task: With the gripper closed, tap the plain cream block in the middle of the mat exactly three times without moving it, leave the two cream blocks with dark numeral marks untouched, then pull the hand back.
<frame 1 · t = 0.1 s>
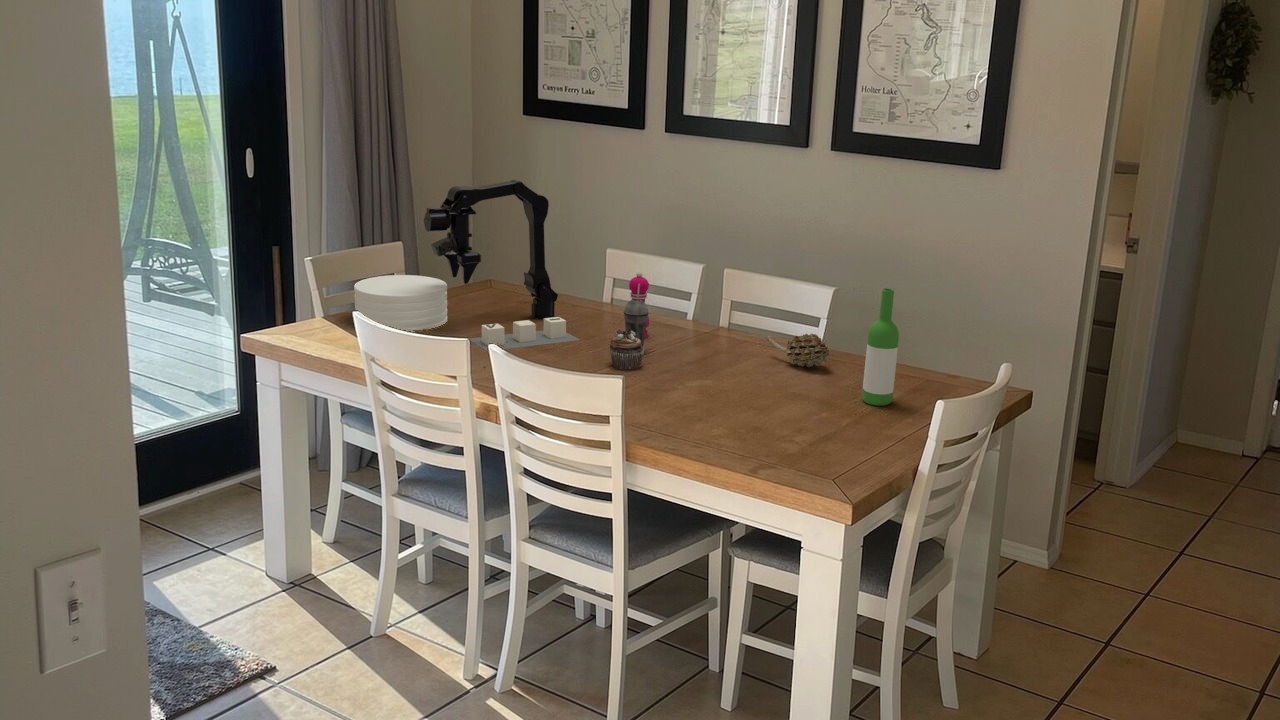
hand: (460, 280, 350), 15 cm above the table, tool pointing down, fingers open, 9 cm apart
block one: (554, 335, 346), point 1 cm above the table, touching mat
wine bottle: (876, 402, 300), on the table
pepper mill: (636, 336, 352), on the table
plate stack: (401, 321, 359), on the table
beverage cup: (634, 352, 336), on the table
mat: (524, 341, 342), on the table
cupcake: (626, 366, 323), on the table
block seven: (493, 342, 336), point 1 cm above the table, touching mat
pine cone: (794, 364, 330), on the table
plain block: (524, 339, 341), point 1 cm above the table, touching mat
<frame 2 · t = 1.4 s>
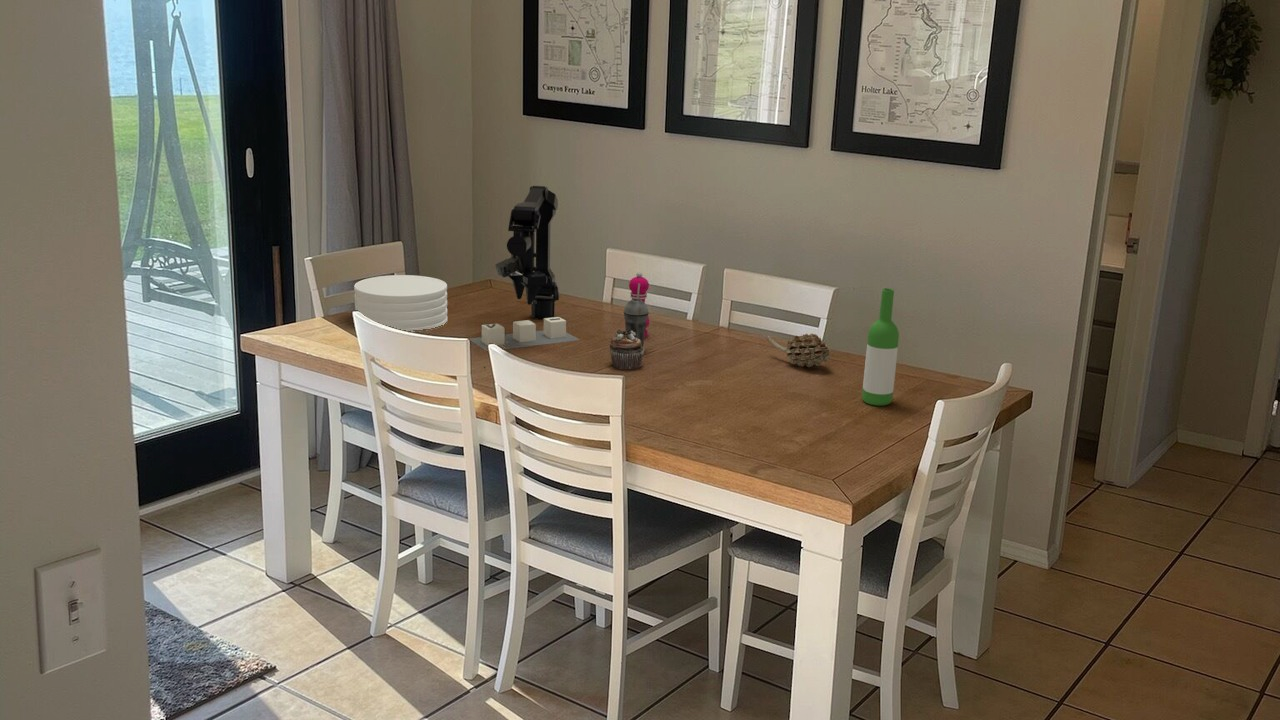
hand: (524, 301, 338), 12 cm above the table, tool pointing down, fingers open, 7 cm apart
nothing on the table moved.
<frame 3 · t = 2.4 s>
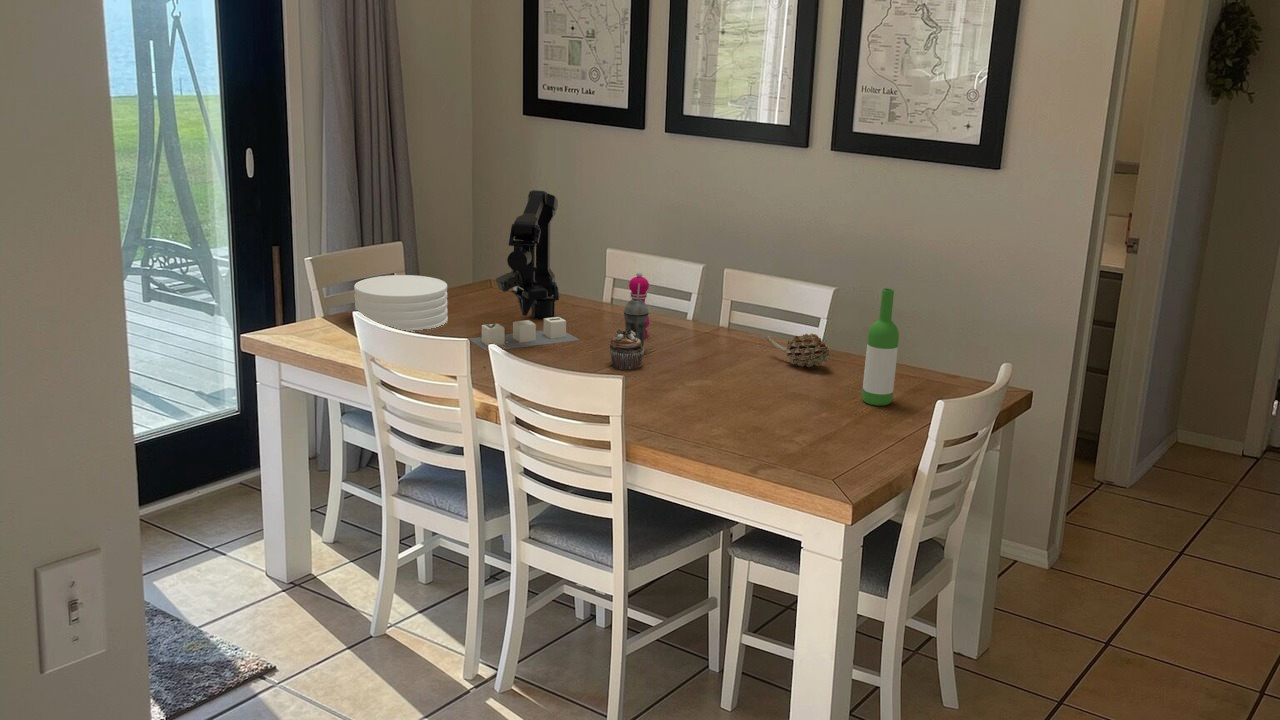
hand: (524, 315, 339), 8 cm above the table, tool pointing down, fingers closed
nothing on the table moved.
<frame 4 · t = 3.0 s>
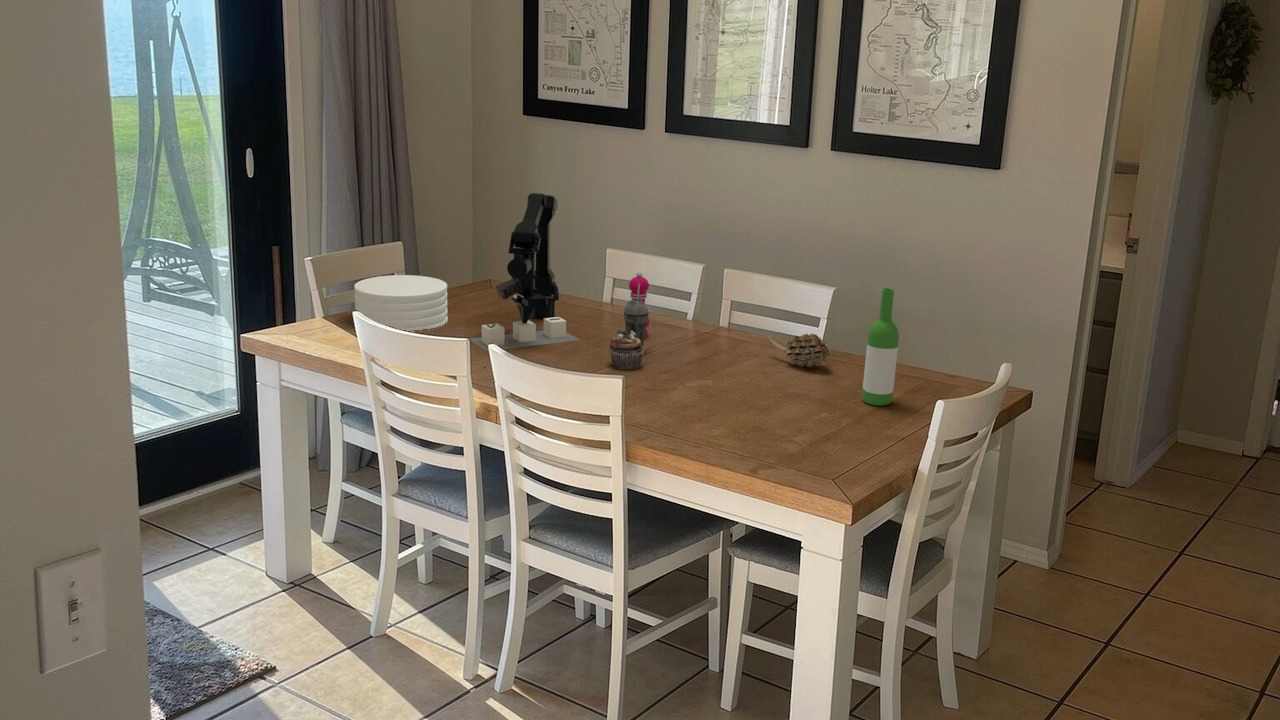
hand: (524, 323, 340), 6 cm above the table, tool pointing down, fingers closed, pressing on plain block
plain block: (524, 339, 341), point 1 cm above the table, touching gripper, mat
everything else where it was.
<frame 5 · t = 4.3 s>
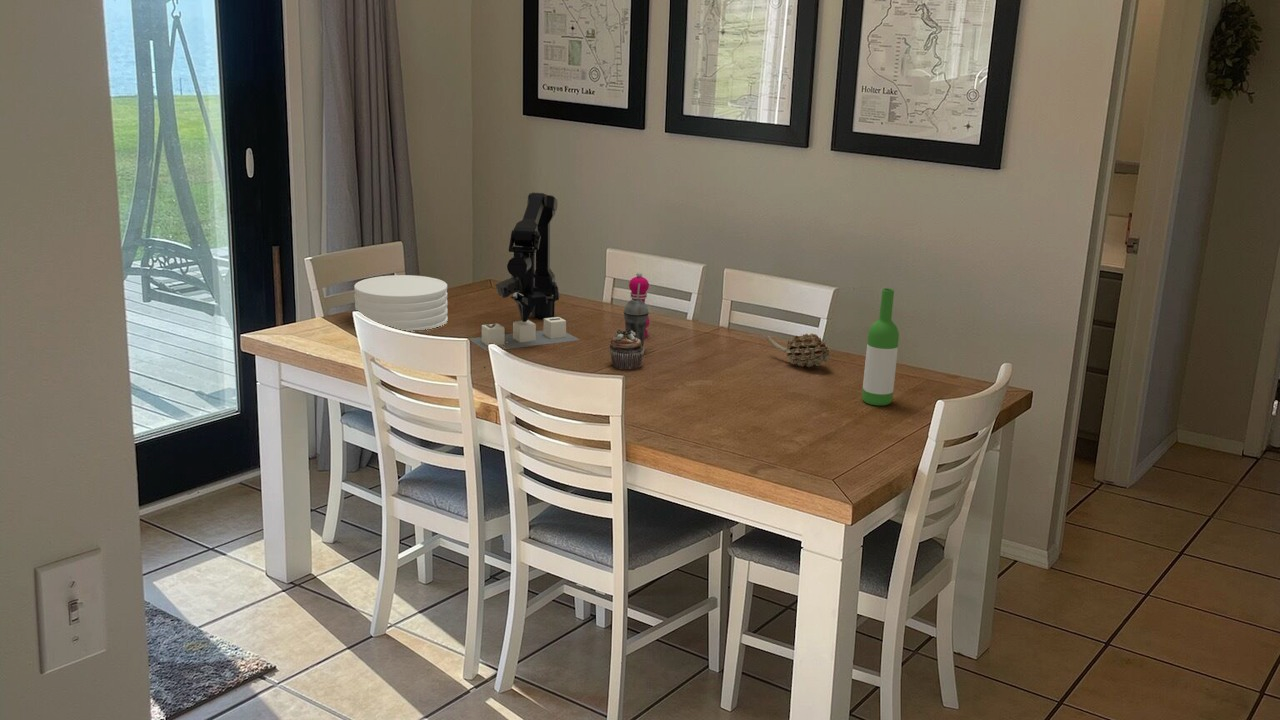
hand: (524, 321, 340), 6 cm above the table, tool pointing down, fingers closed
plain block: (524, 339, 341), point 1 cm above the table, touching mat
everything else where it was.
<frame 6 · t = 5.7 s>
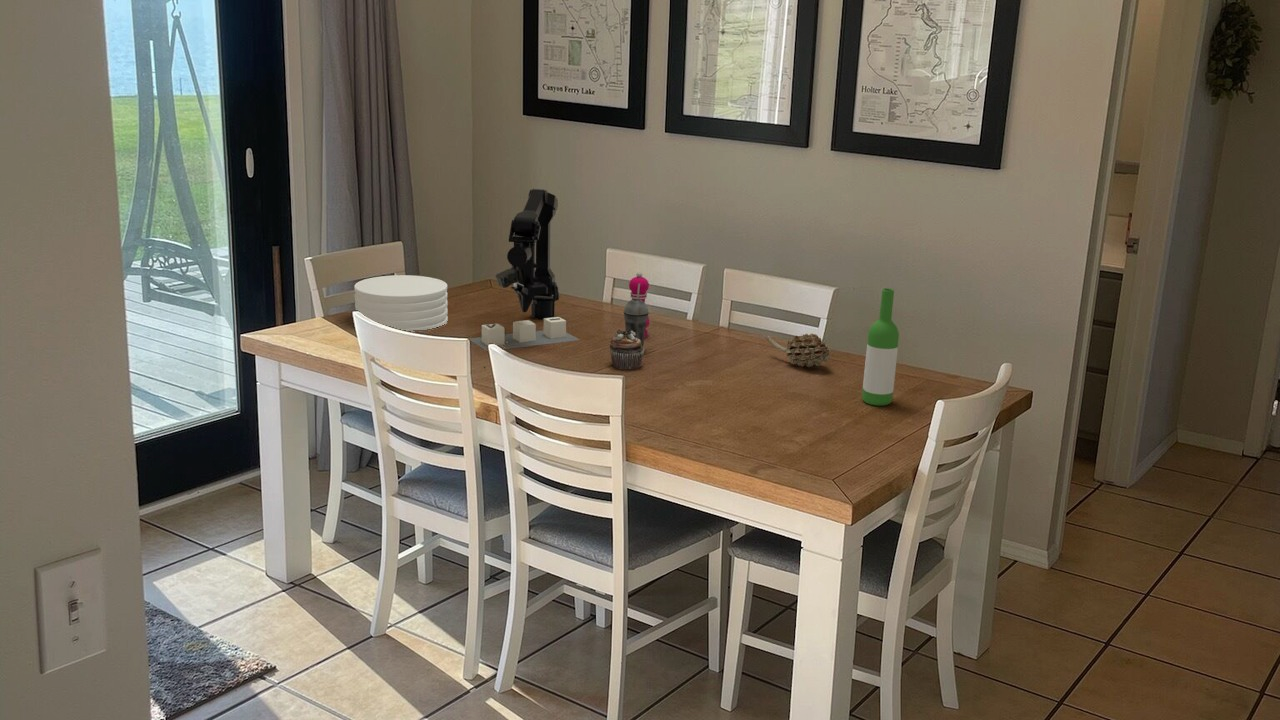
hand: (524, 311, 339), 9 cm above the table, tool pointing down, fingers closed
nothing on the table moved.
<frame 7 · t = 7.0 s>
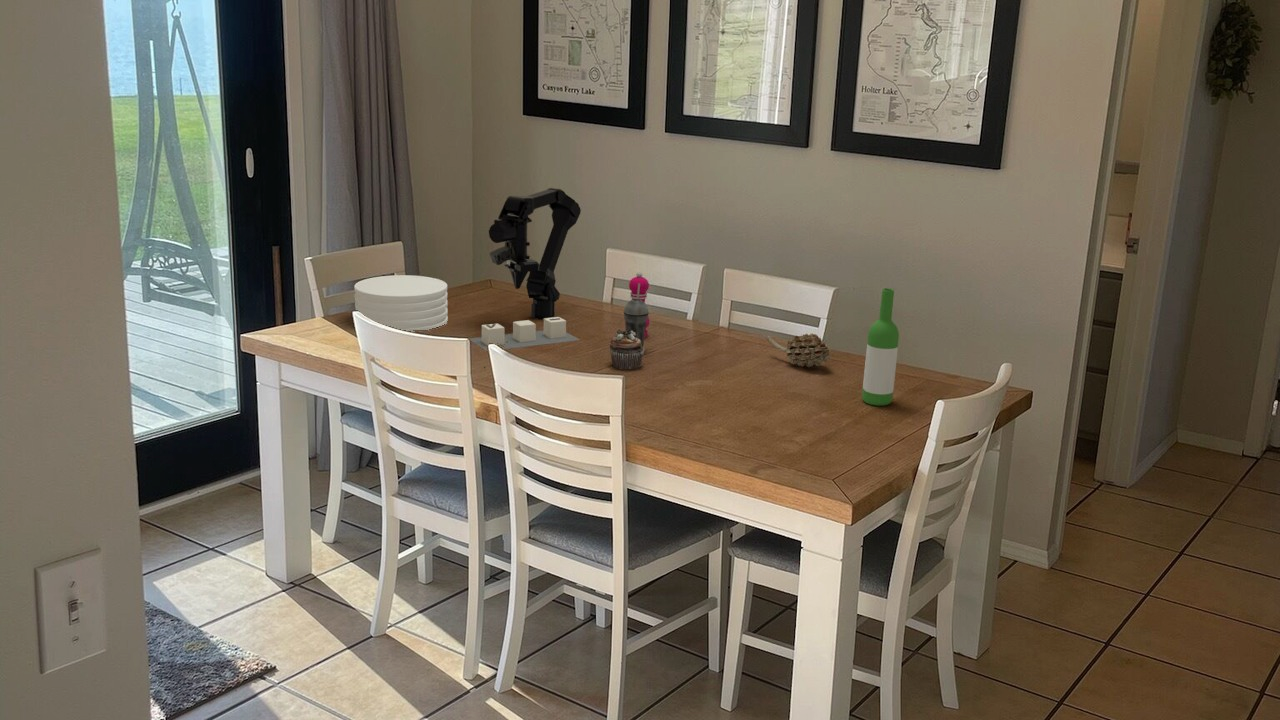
hand: (517, 288, 354), 12 cm above the table, tool pointing down, fingers closed
nothing on the table moved.
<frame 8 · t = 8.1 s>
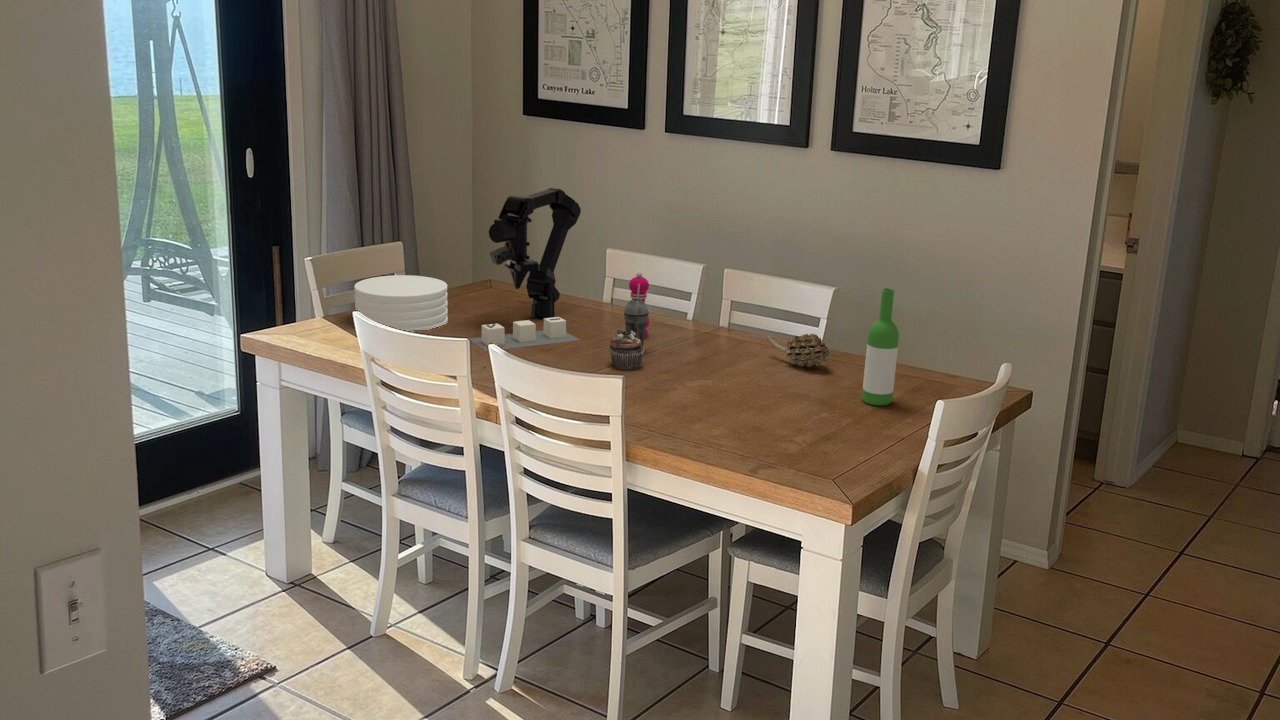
hand: (517, 288, 354), 12 cm above the table, tool pointing down, fingers closed
nothing on the table moved.
at the end: plain block moved 0.0 cm from its start; plain block tilted 0°; block seven moved 0.0 cm from its start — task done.
